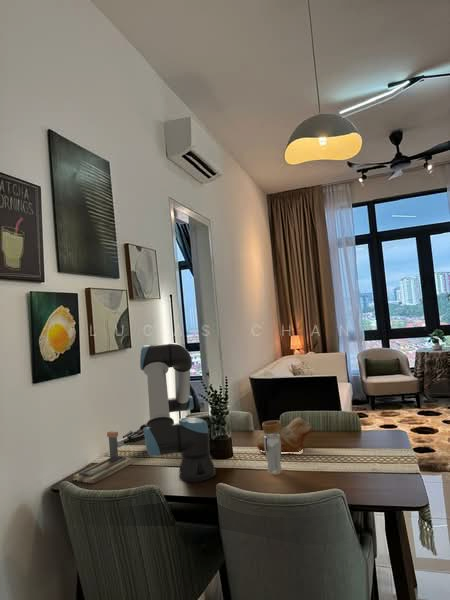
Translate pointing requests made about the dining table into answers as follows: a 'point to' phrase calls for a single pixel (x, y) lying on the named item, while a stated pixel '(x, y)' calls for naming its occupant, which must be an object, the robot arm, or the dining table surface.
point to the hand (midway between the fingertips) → (117, 444)
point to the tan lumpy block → (286, 434)
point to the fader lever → (113, 446)
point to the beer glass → (273, 452)
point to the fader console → (102, 470)
